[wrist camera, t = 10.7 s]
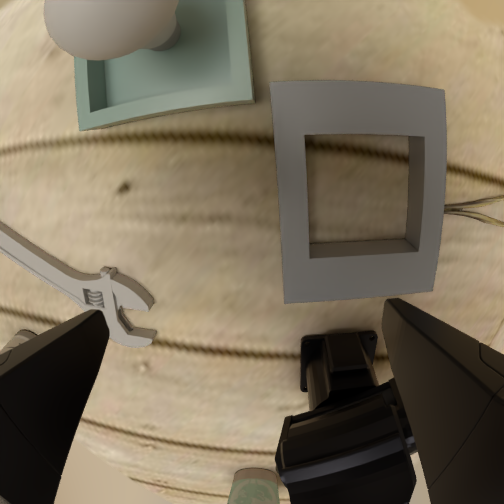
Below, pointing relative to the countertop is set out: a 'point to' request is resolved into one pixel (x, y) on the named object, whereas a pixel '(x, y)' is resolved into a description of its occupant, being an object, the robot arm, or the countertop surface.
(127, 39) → the lightbulb
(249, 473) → the coffee cup
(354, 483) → the robot arm
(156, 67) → the parts tray
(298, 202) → the socket board
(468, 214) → the tongs
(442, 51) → the countertop surface
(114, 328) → the adjustable wrench
